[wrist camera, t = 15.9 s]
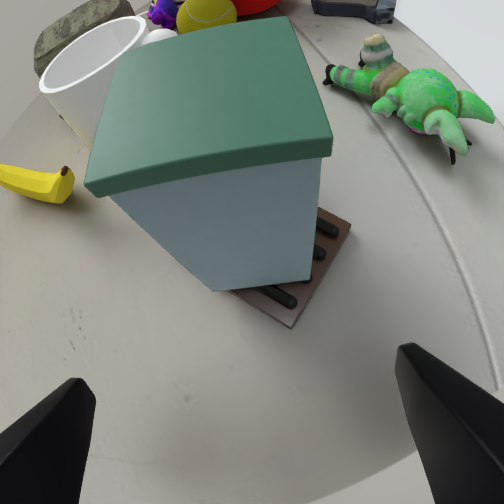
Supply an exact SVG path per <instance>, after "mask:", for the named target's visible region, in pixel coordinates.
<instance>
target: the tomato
mask: <svg viewBox="0 0 504 504" xmlns="http://www.w3.org/2000/svg"><path fill="white" fill-rule="evenodd" d="M230 1H231V2H232V3H233V4H234V6H235V8H236V12H237V16H244V15H251V14H256V13H260V12H262V11H265V10H267V9H269V8H271V7H273V6H274V5H276V4H278V3H279V2H281V1H282V0H230Z"/></svg>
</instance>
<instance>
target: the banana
mask: <svg viewBox="0 0 504 504" xmlns="http://www.w3.org/2000/svg"><path fill="white" fill-rule="evenodd" d="M74 181H75V177H74V174H73V173H72V171H71V169H70V168H68V166H64V167H63V168H62V169H61V170H60V171H59V173H45V172H39V171H33V170H29V169H24V168H20V167H15V166H10V165H3V164H0V185H1V186H3V187H4V188H7V189H9V190H11V191H13V192H16V193H18V194H21V195H24V196H27V197H30V198H33V199H37V200H41V201H45V202H51V203H58V204H59V203H63V202H64V201H65V200H66V199H67V198H68V196H69V195H70V194H71V193H72V189H73V185H74Z"/></svg>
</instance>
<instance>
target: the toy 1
mask: <svg viewBox="0 0 504 504" xmlns="http://www.w3.org/2000/svg"><path fill="white" fill-rule="evenodd" d="M184 2H185V1H182V2H177V3H175V2H174V1H173V0H153V1H152V3H151V6H150V9H149V11H148V14H147V17H151V20H152V22H153V23H154V24H156V25H160V24H161V25H162V27H163V28H164V29H170V28H171V27H173V26H174V25H175V23H176V19H177V13H178V7H177V5H182V4H183V3H184Z"/></svg>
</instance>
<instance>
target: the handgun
mask: <svg viewBox="0 0 504 504" xmlns="http://www.w3.org/2000/svg"><path fill="white" fill-rule="evenodd" d="M311 3H312V6H313V8H314V11H315V13H317V12H318V13H320V14H321V15H334V16H358V17H363V18H366V19H368V20H370V21H371V22H375V24H380V23H392V20H393V15H394V10H395V5H396V0H311Z"/></svg>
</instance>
